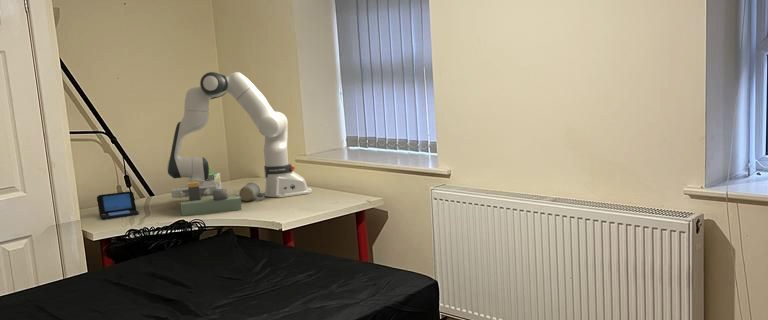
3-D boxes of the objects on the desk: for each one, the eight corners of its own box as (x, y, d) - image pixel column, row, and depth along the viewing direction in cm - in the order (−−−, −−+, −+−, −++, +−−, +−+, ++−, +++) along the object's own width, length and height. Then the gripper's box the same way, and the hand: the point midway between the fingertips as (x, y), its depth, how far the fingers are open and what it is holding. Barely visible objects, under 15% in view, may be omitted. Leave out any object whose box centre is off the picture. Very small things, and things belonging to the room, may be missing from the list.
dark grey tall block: (201, 208, 318) (198, 180, 316) (201, 211, 313) (198, 182, 311) (191, 209, 317) (188, 181, 316) (190, 212, 312) (187, 183, 310)
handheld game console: (102, 221, 306) (99, 199, 305) (98, 215, 318) (96, 195, 317) (139, 215, 313) (137, 194, 312) (135, 210, 325) (132, 190, 324)
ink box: (216, 194, 349) (213, 167, 347) (208, 195, 350) (205, 168, 348) (222, 192, 356) (219, 165, 354) (214, 192, 357) (212, 165, 355)
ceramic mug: (239, 202, 327) (237, 185, 326) (245, 198, 335) (244, 182, 333) (260, 202, 325) (259, 185, 324) (267, 198, 333) (265, 182, 331)
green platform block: (240, 204, 322) (239, 184, 321) (241, 209, 310) (239, 189, 309) (183, 210, 317) (181, 190, 315) (182, 215, 305) (180, 195, 303)
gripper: (171, 184, 324) (169, 189, 310) (217, 179, 328) (217, 184, 315) (172, 197, 325) (170, 203, 311) (218, 193, 329) (218, 198, 316)
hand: (194, 193), depth 313 cm, fingers open, 8 cm apart
